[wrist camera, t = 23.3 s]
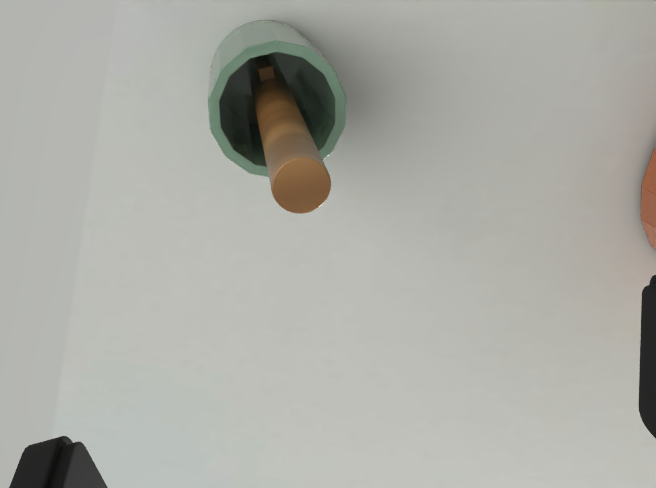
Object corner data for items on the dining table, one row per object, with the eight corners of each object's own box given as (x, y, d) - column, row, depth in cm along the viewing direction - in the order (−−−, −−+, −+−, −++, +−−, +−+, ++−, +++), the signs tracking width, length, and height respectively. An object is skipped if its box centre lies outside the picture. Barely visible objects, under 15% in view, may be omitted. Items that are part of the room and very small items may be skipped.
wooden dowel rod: (243, 61, 34) (260, 149, 20) (278, 52, 34) (320, 133, 20) (258, 117, 36) (284, 235, 21) (292, 108, 36) (340, 221, 21)
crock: (195, 35, 34) (188, 61, 27) (308, 7, 34) (331, 26, 27) (227, 143, 37) (229, 192, 30) (332, 116, 37) (358, 158, 30)
